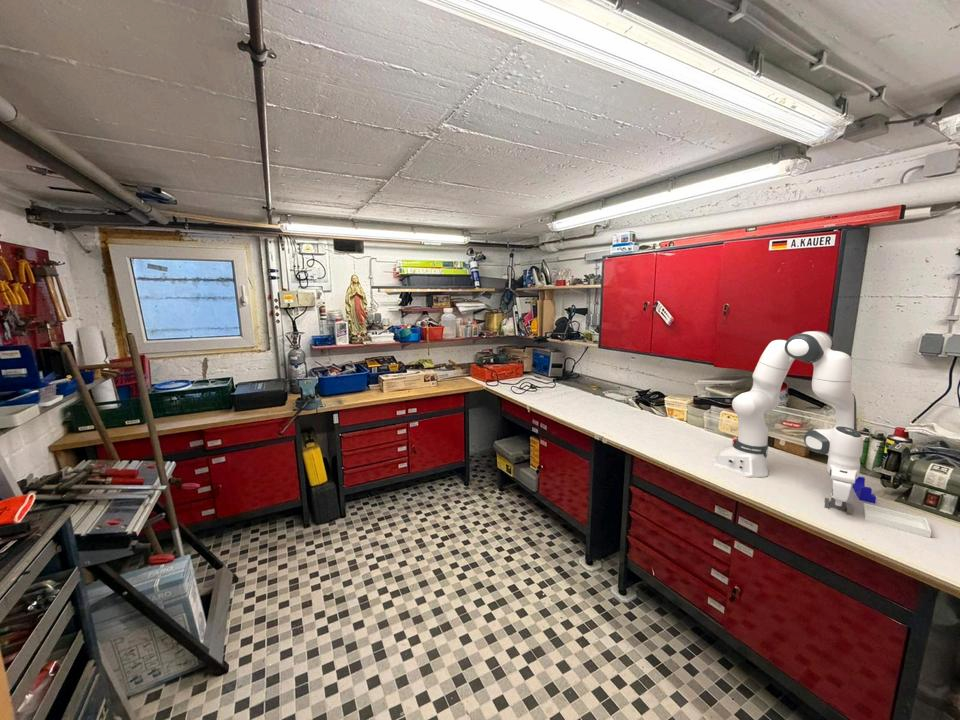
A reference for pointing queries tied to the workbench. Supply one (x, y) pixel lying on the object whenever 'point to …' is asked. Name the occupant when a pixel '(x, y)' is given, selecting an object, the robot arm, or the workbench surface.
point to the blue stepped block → (863, 491)
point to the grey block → (836, 505)
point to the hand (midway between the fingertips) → (838, 502)
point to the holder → (848, 506)
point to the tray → (897, 520)
